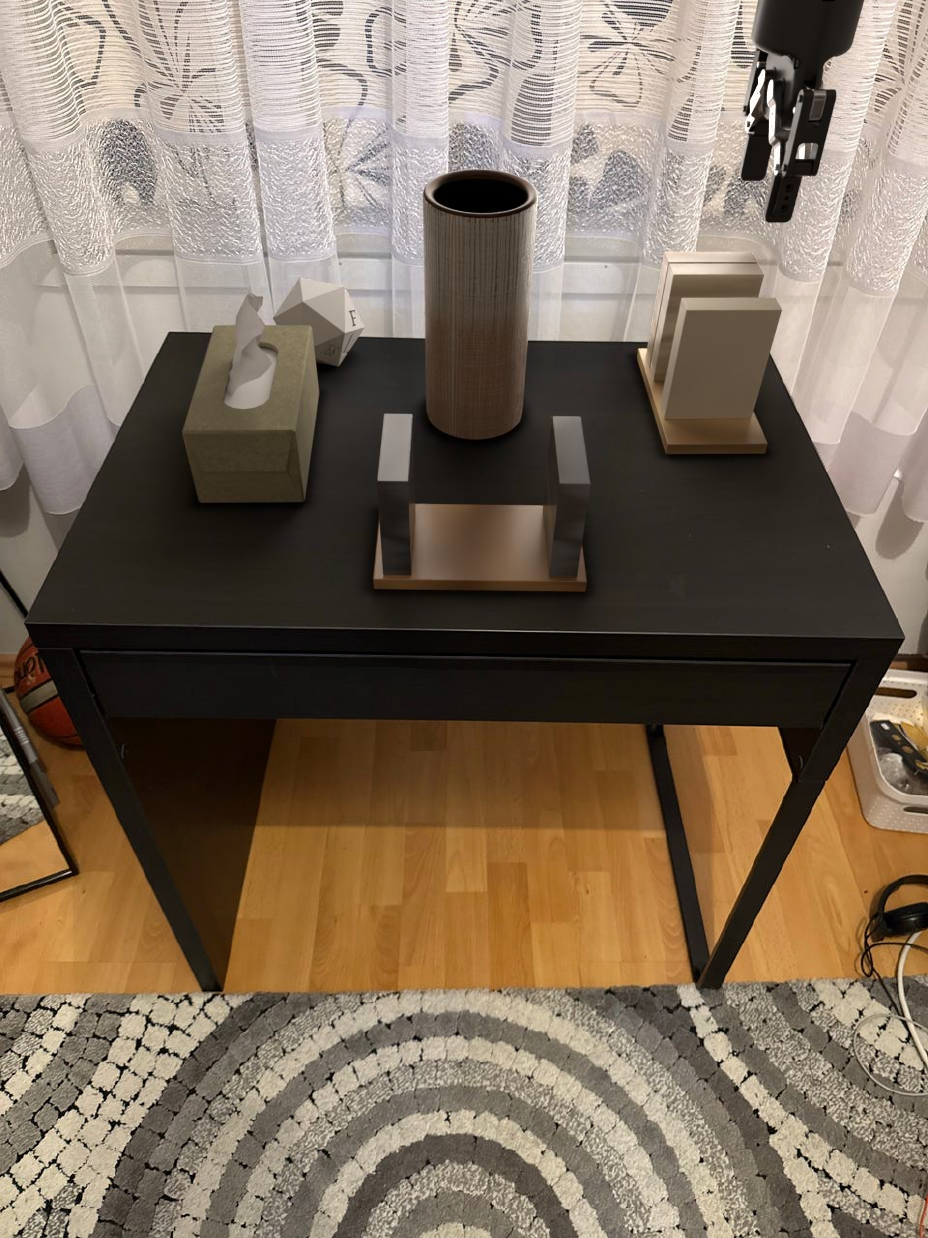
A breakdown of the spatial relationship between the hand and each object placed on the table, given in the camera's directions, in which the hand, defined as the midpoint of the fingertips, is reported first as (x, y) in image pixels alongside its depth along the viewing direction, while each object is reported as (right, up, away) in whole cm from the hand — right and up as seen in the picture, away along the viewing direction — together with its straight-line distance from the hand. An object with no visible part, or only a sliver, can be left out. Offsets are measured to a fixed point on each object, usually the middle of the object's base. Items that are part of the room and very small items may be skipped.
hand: (763, 199), depth 79 cm
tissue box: (-46, -19, +13) cm, 51 cm away
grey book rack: (-24, -30, +3) cm, 39 cm away
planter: (-24, -14, +18) cm, 33 cm away
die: (-41, -6, +25) cm, 49 cm away
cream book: (-1, -15, +16) cm, 22 cm away
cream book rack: (-1, -13, +20) cm, 23 cm away
